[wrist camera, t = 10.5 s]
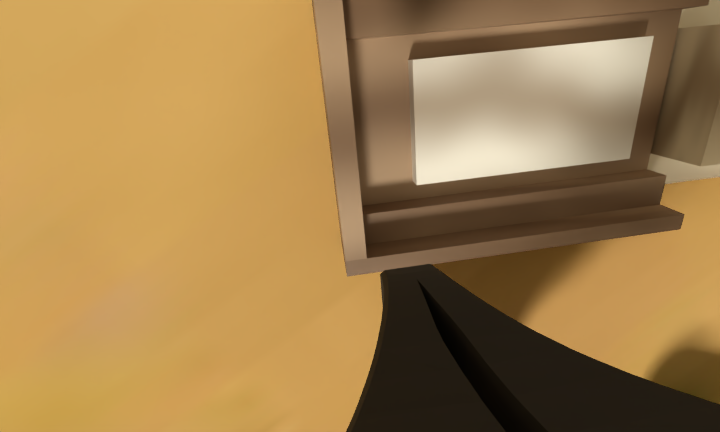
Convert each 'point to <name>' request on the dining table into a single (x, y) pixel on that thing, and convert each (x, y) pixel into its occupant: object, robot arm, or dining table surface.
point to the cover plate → (691, 101)
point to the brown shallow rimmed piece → (492, 124)
